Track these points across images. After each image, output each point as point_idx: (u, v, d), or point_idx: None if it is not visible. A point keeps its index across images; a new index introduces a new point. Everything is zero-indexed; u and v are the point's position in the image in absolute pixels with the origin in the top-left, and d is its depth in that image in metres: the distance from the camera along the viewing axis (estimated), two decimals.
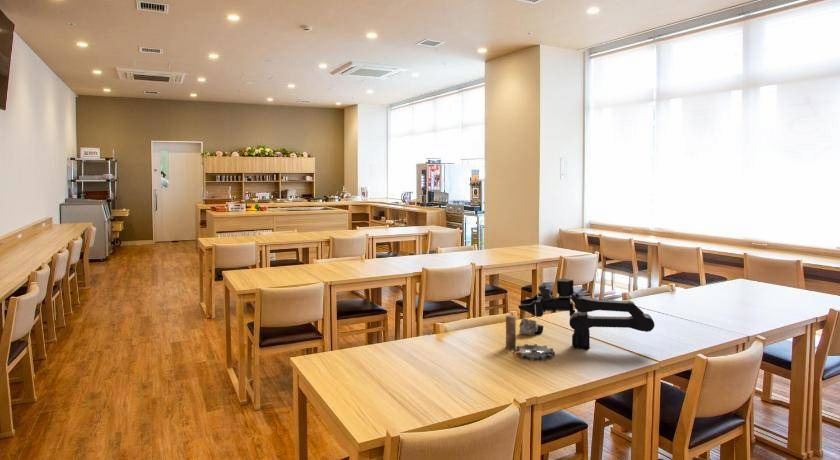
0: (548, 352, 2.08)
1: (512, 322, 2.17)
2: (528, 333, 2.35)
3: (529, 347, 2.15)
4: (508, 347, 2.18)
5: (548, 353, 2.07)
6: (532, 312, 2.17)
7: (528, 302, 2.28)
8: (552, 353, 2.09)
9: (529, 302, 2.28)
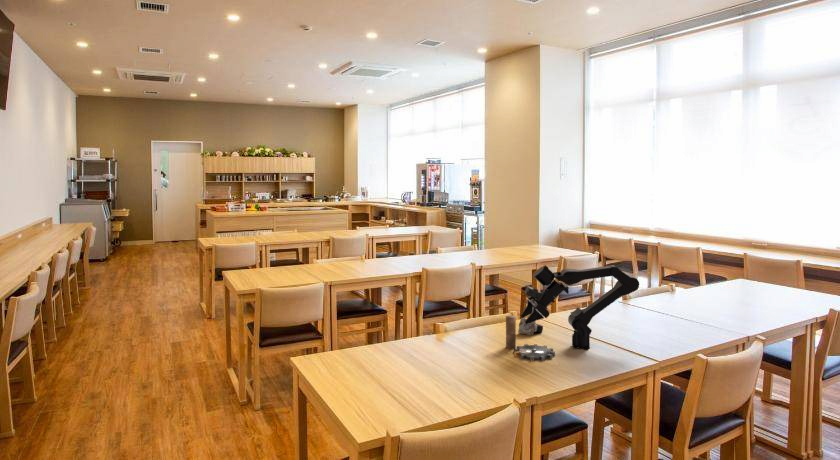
0: (548, 352, 2.08)
1: (512, 322, 2.17)
2: (527, 333, 2.36)
3: (529, 347, 2.15)
4: (508, 347, 2.18)
5: (548, 353, 2.07)
6: (539, 317, 2.12)
7: (527, 312, 2.23)
8: (552, 353, 2.09)
9: (528, 311, 2.23)
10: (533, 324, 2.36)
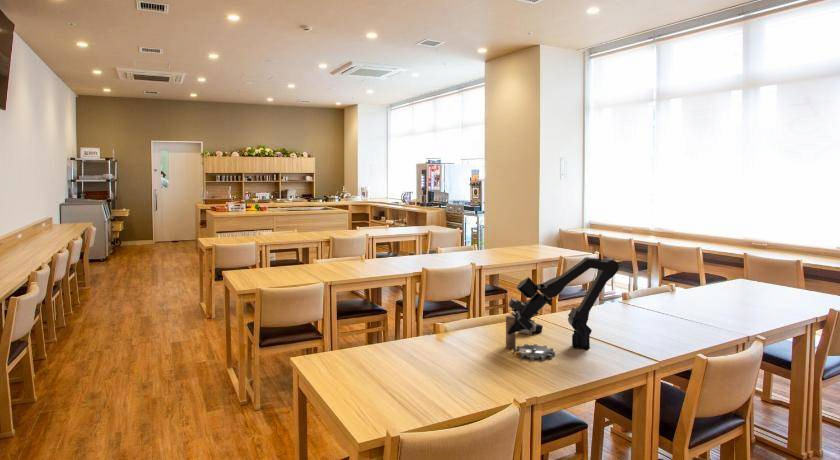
0: (548, 352, 2.08)
1: (512, 322, 2.17)
2: (526, 332, 2.37)
3: (529, 347, 2.15)
4: (508, 347, 2.18)
5: (548, 353, 2.07)
6: (522, 328, 2.15)
7: None
8: (552, 353, 2.09)
9: None
10: None
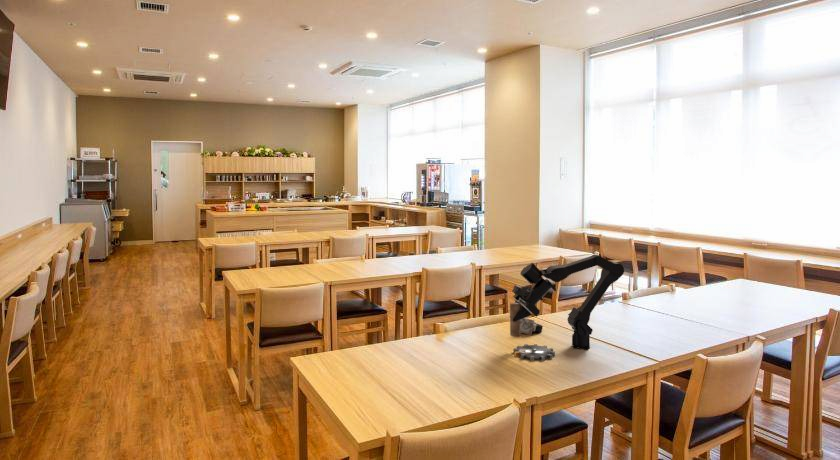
0: (548, 352, 2.08)
1: (517, 309, 2.13)
2: (526, 332, 2.37)
3: (529, 347, 2.15)
4: (513, 335, 2.14)
5: (548, 353, 2.07)
6: (527, 314, 2.11)
7: None
8: (552, 353, 2.09)
9: None
10: (532, 323, 2.37)
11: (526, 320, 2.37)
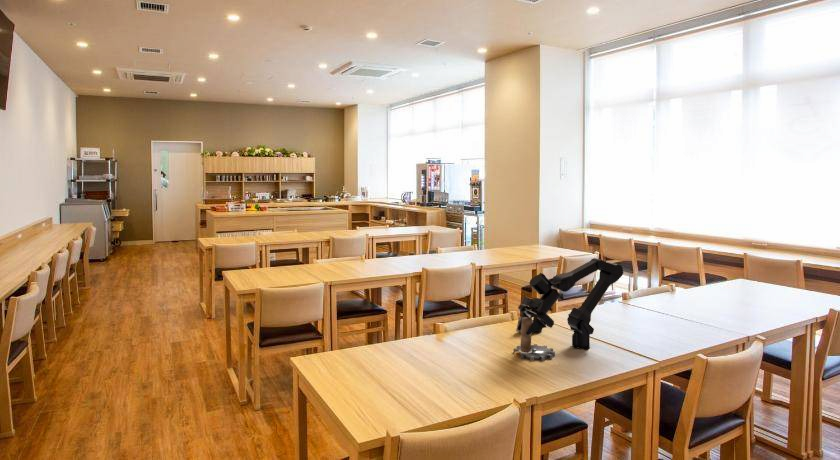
0: (548, 352, 2.08)
1: (530, 324, 2.08)
2: None
3: None
4: (525, 350, 2.08)
5: (548, 353, 2.07)
6: (541, 326, 2.06)
7: None
8: (552, 353, 2.09)
9: None
10: None
11: None
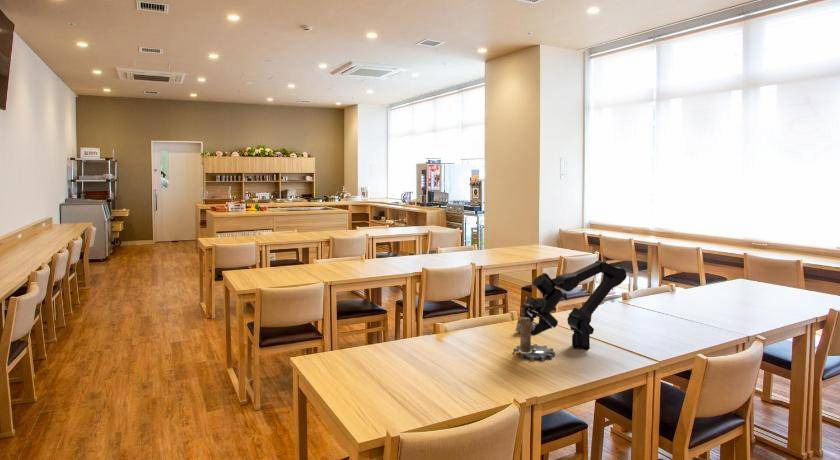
0: (548, 352, 2.08)
1: (529, 324, 2.08)
2: None
3: None
4: (524, 351, 2.08)
5: (548, 353, 2.07)
6: (546, 327, 2.05)
7: None
8: (552, 353, 2.09)
9: None
10: (531, 323, 2.37)
11: None
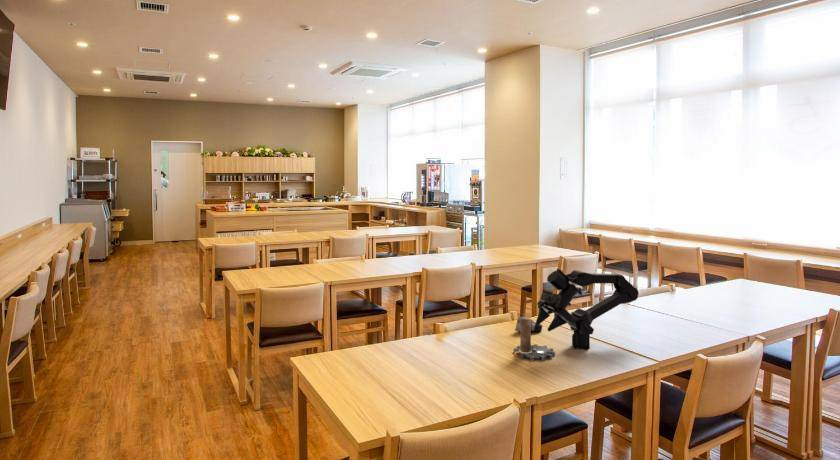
0: (548, 352, 2.08)
1: (529, 324, 2.08)
2: None
3: None
4: (524, 351, 2.08)
5: (548, 353, 2.07)
6: (562, 322, 2.08)
7: (541, 318, 2.18)
8: (552, 353, 2.09)
9: (542, 317, 2.18)
10: None
11: None
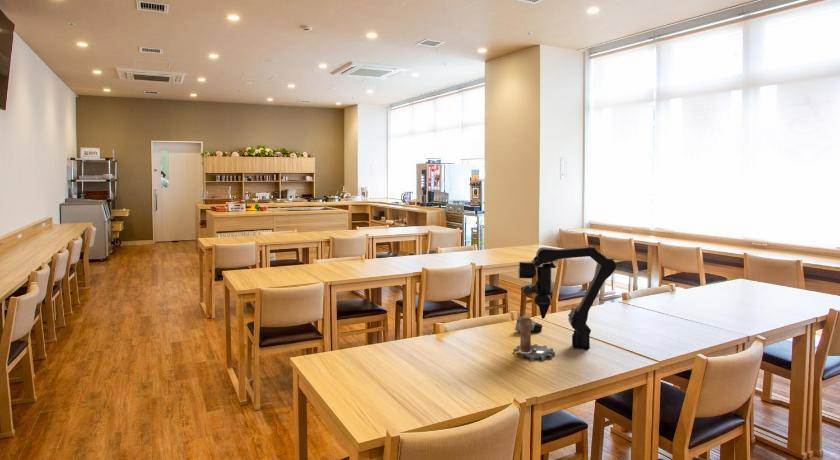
0: (548, 352, 2.08)
1: (529, 324, 2.08)
2: None
3: None
4: (524, 351, 2.08)
5: (548, 353, 2.07)
6: (547, 306, 2.12)
7: None
8: (552, 353, 2.09)
9: None
10: None
11: None
